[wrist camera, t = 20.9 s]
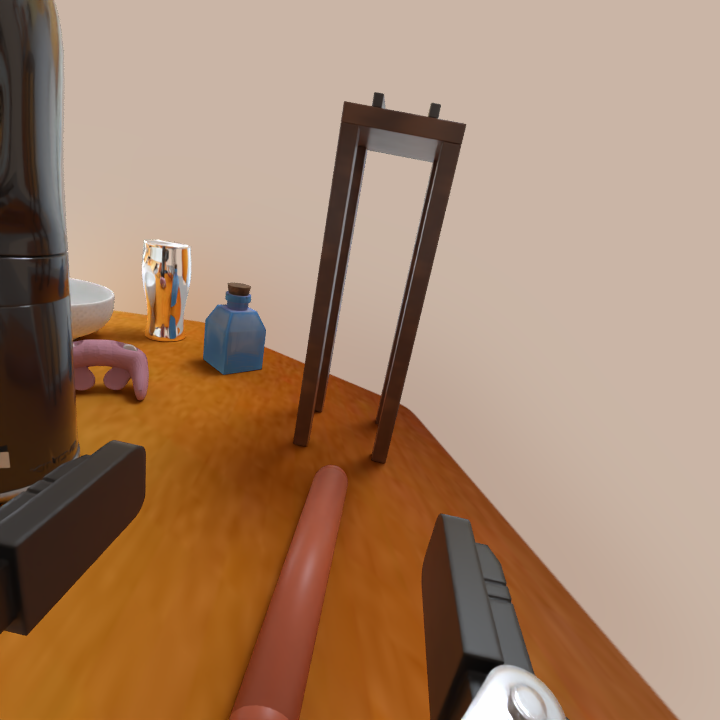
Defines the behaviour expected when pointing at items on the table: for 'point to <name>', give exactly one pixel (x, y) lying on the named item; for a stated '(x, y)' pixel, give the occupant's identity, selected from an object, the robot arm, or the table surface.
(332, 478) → the sausage
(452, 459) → the table surface
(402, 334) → the shelf stand
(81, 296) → the cereal bowl
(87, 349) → the video game controller
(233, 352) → the perfume bottle
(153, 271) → the silver metal tumbler
